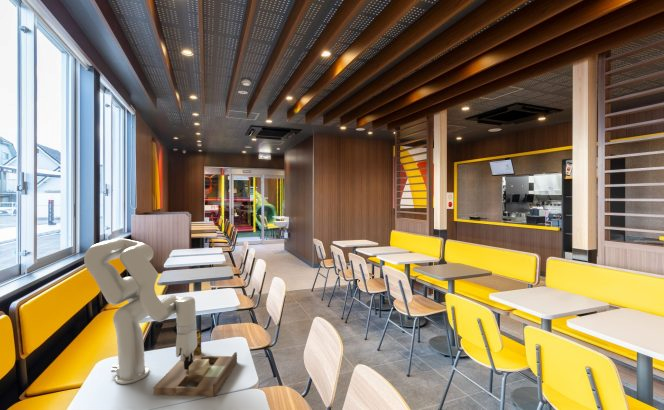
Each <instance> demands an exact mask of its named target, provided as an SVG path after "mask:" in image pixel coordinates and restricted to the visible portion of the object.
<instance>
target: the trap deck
mask: <svg viewBox="0 0 664 410" xmlns="http://www.w3.org/2000/svg"><path fill="white" fill-rule="evenodd" d="M192 359H193V361H194V360H195V359H209V368H208V369H207V371H206V372H205V373H204V374H203V375H189V370H185V369H184V361H180V359H179V360H178V362H176V364H174V365H173V366H172V367H171V368H170V369H169V371H168V372H167V373H166V374H165V375H164V376H163V377H162V378H161V379H160V380H159V381H158V382H157V383H156V384H155V385H154V386H153V395H154V396H157V395H158V396H181V397H182V396H185V397H186V396H187V397H189V396H190V397H193V396H194V397H217V395H218V394H219V392H220V391H221V389H222V388H223V386H224V385H225V383H226V381H227V380H228V379H229V376H231V373H232V371H233V370H234V369H235V367H236V365H237V364H238V352H237V351H235V352H234V353H233V354H232V355H231V356H230V355H229V356H228V355H227V356H226V355H224V356H223V355H203V356H193V358H192Z"/></svg>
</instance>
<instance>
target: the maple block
mask: <svg viewBox="0 0 664 410" xmlns="http://www.w3.org/2000/svg"><path fill="white" fill-rule="evenodd" d="M208 368H209V359H195V360H194V361H193V362H192V364H191V365H190V366H189V375H203V374H204V373H205V372H206V371H207V369H208Z"/></svg>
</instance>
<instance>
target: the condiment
mask: <svg viewBox="0 0 664 410" xmlns="http://www.w3.org/2000/svg"><path fill="white" fill-rule="evenodd" d="M200 331H201V330H200V329H199V328H196V332H197V347H196V349H195V350H194V353H193V356H204V353H203V351H202V335H201V332H200Z"/></svg>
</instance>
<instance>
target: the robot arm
mask: <svg viewBox="0 0 664 410" xmlns="http://www.w3.org/2000/svg"><path fill="white" fill-rule="evenodd" d="M153 258H154V249H153V248H152V247H151V246H150V245H149V244H146V243H144V242H141V241H137V240H131V239H127V238H123V237H120V238H119V237H118V238H114V239H109V240H103V241H101V242H98V243H95V244H93V245H91V246H90V247H89V248H88V249H87V250H86V252H85V254H84V259H83V261H84V263H83V264H84V265H85V268H86V269H87V271H88V272H89V274H90V275H91V276H92V278H93V280H95V282H96V284H97V286H98V288H99V289H100V292H101V294H102V295H103V297H104V299H105V300H106V302H107V303H108V304H110V305H111V306H117V305H120V304H122V303H124V302H126V301H127V302H128V303H126V304H124V305H122V306H120V307H119V308H118V309H117V310H115V312H114V314H113V318H112V321H113V322H112V323H113V325H114V328H115V335H116V343H117V344H116V345H117V361H118V364H113V365H112V368H111V370H110V372H111V373H116V375H115V376H114V381H115V383H117V384H119V385H128V384H129V385H130V384H132V383H135V382H139V381H140V380H142V379H144V378H145V377H146V376H147V375H148V374H149V372H150V368H149V366H147V365H146V364H145V362H146V361H145V347H144V345H145V344H144V332H143V330H142V327H141V325H140V322H141V321H143V320H144V319H146V318H147V317H150V318H151V319H152V320H153V321H155V322H163V321H165V320H167V319H169V317H171V316H173V315H174V314H176V315H175V316H176V333H177V334H176V338H175V355H176V356H175V357H176V358H179V360H180V361H184V369H185V370H189V366H190V365H191V364H192V362H193V359H192V358H193V353H194V350H195V349H196V347H197V332H196V329H197V315H196V314H197V313H196V311H197V310H196V300H195V298H194V297H192V296H178V295H173V294H172V295H169V296H166V297H165V298H163V299H161V300H160V298H159V297H158V295H157V293H156V290H155V284H156V282H157V278H159V273H158V271H157V270H156V269H155V267H154V265H153V264H152V263H151V262H150V261H152V259H153ZM117 259H119V261H120V263H121V264H122V265H123V267H124V268H125V270H126V271H127V272H128V273H129V275H130V276H125V277H122V276H121V274H120V272H119V270H118V269H117V268H116V267H115V266H114V265H113V264H111V263H109V262H110V261H113V260H117Z"/></svg>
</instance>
